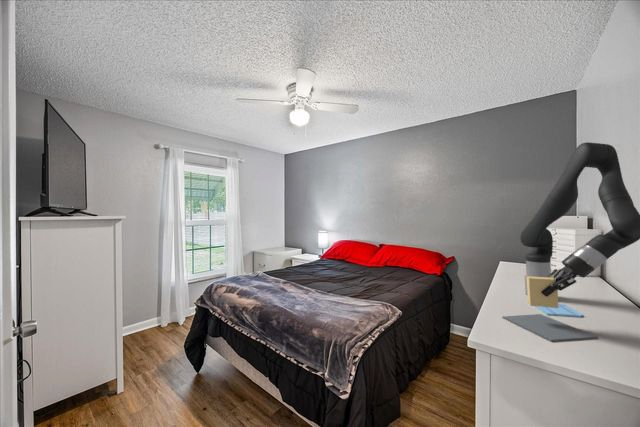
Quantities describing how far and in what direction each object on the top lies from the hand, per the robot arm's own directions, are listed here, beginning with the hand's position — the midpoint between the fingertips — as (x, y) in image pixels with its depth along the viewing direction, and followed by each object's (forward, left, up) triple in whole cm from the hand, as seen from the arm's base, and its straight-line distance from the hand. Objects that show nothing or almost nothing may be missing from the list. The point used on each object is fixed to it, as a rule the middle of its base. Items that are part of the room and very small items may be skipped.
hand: (541, 292), depth 97 cm
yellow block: (0, 0, -5) cm, 5 cm away
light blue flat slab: (-11, +17, -12) cm, 24 cm away
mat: (+3, -2, -11) cm, 12 cm away
